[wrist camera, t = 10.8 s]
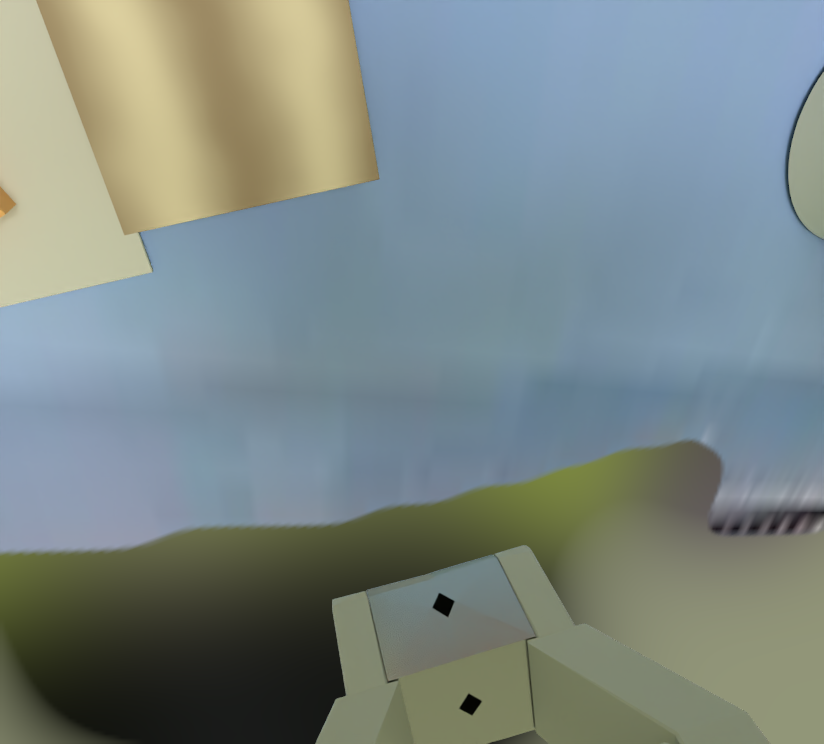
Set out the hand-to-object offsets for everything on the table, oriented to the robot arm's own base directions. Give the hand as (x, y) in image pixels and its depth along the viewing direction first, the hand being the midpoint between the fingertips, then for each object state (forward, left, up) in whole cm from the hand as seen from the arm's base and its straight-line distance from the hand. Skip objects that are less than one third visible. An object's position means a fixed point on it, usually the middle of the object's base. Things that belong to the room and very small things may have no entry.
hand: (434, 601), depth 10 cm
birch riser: (+1, -7, -29) cm, 30 cm away
